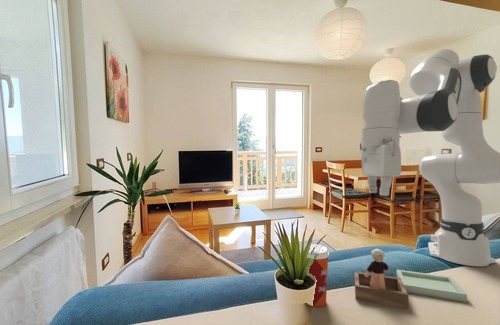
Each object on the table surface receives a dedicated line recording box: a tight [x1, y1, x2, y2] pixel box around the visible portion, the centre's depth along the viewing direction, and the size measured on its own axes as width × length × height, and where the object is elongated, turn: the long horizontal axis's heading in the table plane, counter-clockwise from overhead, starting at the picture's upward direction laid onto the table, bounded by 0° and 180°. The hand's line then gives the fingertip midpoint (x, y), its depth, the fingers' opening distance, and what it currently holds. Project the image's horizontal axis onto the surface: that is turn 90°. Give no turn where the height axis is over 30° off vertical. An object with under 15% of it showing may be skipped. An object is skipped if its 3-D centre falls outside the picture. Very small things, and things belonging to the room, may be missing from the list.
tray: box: [396, 269, 468, 303], centre depth 69 cm, size 10×14×2 cm
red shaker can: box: [304, 243, 330, 308], centre depth 64 cm, size 8×8×14 cm
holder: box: [354, 271, 409, 310], centre depth 66 cm, size 9×12×4 cm
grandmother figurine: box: [365, 248, 391, 289], centre depth 66 cm, size 8×4×13 cm, turn 114°
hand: (378, 194), depth 63 cm, fingers open, 8 cm apart
